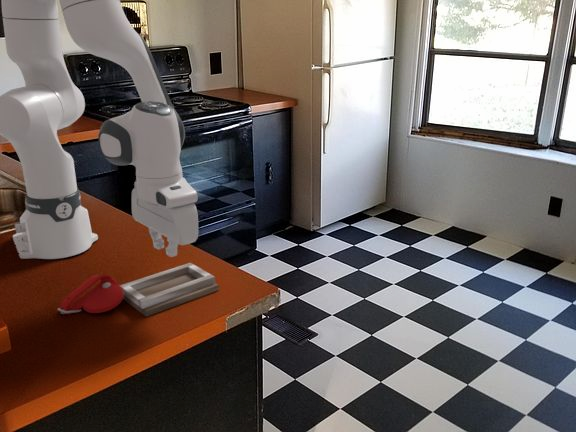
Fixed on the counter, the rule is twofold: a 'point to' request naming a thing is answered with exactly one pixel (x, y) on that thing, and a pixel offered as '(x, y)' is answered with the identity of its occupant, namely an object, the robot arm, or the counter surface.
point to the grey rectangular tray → (168, 289)
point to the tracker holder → (94, 296)
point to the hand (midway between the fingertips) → (165, 251)
